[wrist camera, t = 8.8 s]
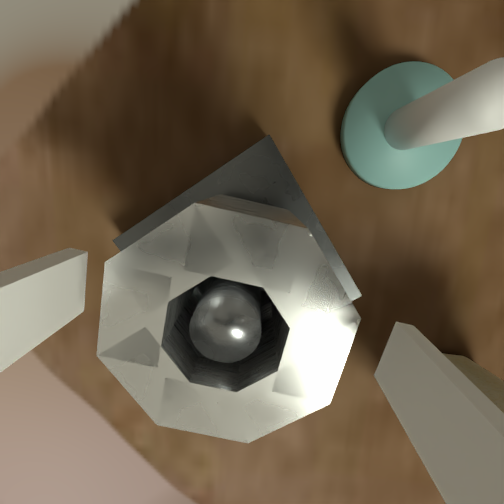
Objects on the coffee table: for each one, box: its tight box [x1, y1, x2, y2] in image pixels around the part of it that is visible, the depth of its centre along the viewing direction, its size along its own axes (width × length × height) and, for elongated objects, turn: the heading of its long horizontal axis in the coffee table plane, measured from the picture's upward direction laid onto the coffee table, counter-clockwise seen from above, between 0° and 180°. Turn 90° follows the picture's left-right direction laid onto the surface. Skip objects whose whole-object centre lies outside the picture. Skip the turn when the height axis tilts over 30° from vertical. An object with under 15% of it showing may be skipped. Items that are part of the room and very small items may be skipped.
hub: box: [113, 135, 362, 363], centre depth 15 cm, size 12×12×9 cm
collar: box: [97, 194, 361, 443], centre depth 13 cm, size 9×9×6 cm
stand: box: [340, 58, 504, 189], centre depth 13 cm, size 7×7×8 cm
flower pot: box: [442, 353, 504, 413], centre depth 18 cm, size 9×9×9 cm
